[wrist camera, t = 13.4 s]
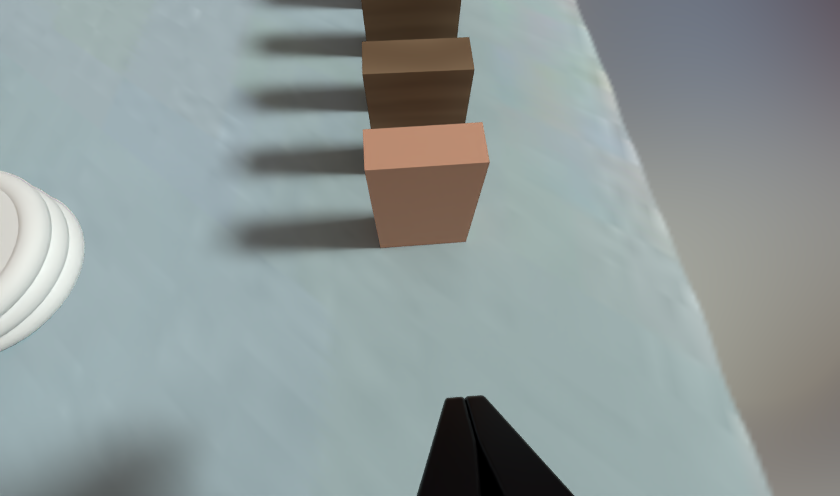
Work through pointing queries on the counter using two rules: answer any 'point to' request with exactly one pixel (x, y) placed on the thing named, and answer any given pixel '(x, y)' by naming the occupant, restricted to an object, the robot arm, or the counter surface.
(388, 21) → the walnut domino
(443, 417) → the robot arm
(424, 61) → the walnut domino
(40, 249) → the white rounded piece
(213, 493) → the counter surface
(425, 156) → the terracotta domino
